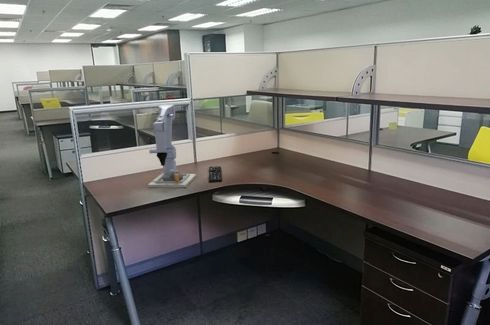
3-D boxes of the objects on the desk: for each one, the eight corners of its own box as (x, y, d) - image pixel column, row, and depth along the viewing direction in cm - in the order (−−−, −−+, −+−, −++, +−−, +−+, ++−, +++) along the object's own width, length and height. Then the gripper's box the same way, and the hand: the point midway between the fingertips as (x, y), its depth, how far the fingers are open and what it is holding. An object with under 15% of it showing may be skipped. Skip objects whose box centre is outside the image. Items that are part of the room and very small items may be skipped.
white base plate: (161, 176, 223) (161, 172, 223) (196, 176, 220) (195, 172, 220) (147, 187, 202) (147, 183, 201) (185, 187, 199) (185, 183, 198)
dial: (160, 177, 213) (159, 169, 212) (179, 174, 218) (179, 166, 217) (167, 184, 199) (166, 176, 198) (188, 181, 204) (187, 172, 203)
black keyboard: (220, 168, 239) (220, 165, 238) (222, 182, 208) (221, 179, 207) (209, 169, 238) (209, 166, 237) (208, 183, 207) (208, 179, 207)
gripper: (146, 143, 206) (148, 166, 209) (170, 143, 203) (172, 166, 207) (151, 141, 212) (153, 163, 216) (174, 141, 210) (176, 163, 213)
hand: (163, 165), depth 212 cm, fingers closed
